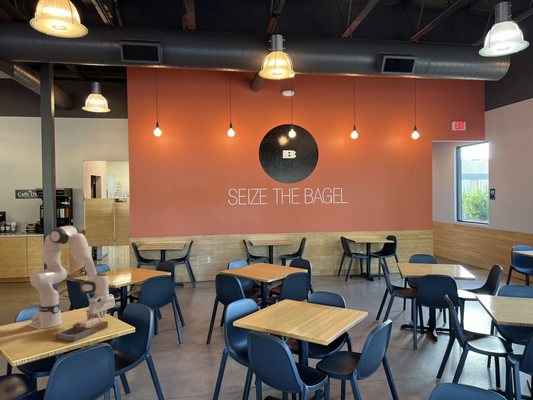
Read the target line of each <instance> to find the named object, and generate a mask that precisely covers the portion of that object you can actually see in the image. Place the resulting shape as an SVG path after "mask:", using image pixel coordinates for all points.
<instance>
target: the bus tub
mask: <svg viewBox="0 0 533 400" xmlns="http://www.w3.org/2000/svg"><path fill="white" fill-rule="evenodd" d="M90 336H91V329H89V330H86V331H84V332H75V327H74V326H73V327H70V328H68V329H64V330H62V331H60V332H57V333H55V340H57V341H62V342H68V343H69V342H70V343H75V342H78V341H80V340H82V339H85V338H87V337H90Z"/></svg>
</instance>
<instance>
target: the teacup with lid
mask: <svg viewBox="0 0 533 400" xmlns="http://www.w3.org/2000/svg"><path fill="white" fill-rule="evenodd" d="M85 311H86V320H89V319H91V318H99V321H101V318H100V314H99V313H97V314H94V315H91V314H89V307H87V308H86V310H85Z"/></svg>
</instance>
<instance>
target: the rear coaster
mask: <svg viewBox="0 0 533 400" xmlns="http://www.w3.org/2000/svg"><path fill="white" fill-rule="evenodd" d="M89 321H92V324H96V323H98V322H99V318H91V319H89Z"/></svg>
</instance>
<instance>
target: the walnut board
mask: <svg viewBox="0 0 533 400" xmlns="http://www.w3.org/2000/svg"><path fill="white" fill-rule="evenodd" d="M73 327H75V332H84V331H86V330H89V329H91V335H95V334H96V332H97V333H99V332H101V331H104V330H105V328H106V329H108V328H109V321H107V320H106V321H105V320H100V321H99V322H98V323H96V324H93V325H91V326H88V327H81V325H80V323H79V324H78V323H77V324H76V325H73ZM107 327H108V328H107ZM98 331H99V332H98ZM91 335H90V336H91Z"/></svg>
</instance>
